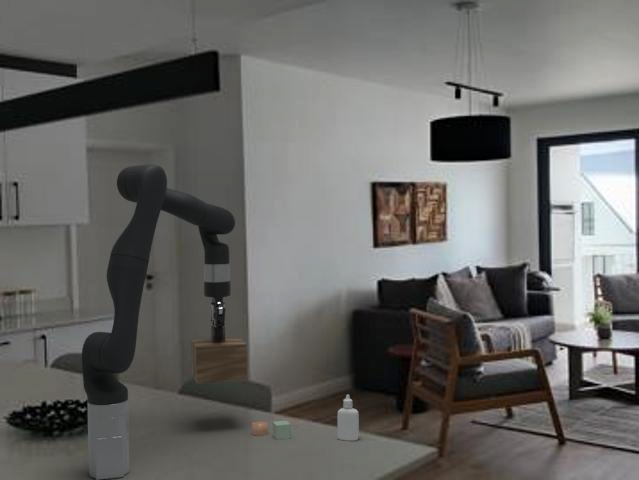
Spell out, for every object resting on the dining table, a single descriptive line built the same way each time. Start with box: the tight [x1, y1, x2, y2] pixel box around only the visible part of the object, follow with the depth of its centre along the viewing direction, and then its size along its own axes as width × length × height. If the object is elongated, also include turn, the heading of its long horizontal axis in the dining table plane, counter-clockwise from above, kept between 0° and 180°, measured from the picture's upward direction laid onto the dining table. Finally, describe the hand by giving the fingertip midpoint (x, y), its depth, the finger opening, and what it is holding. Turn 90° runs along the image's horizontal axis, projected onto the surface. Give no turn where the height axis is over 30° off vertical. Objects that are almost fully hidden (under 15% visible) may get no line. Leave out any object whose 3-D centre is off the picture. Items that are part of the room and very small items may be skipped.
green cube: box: [272, 419, 292, 440], centre depth 199 cm, size 4×4×4 cm
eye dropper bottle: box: [336, 394, 360, 442], centre depth 197 cm, size 4×6×12 cm
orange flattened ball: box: [251, 420, 269, 437], centre depth 202 cm, size 4×4×3 cm
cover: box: [190, 325, 248, 384], centre depth 209 cm, size 14×14×14 cm
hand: (218, 339), depth 209 cm, fingers closed on cover, 3 cm apart
